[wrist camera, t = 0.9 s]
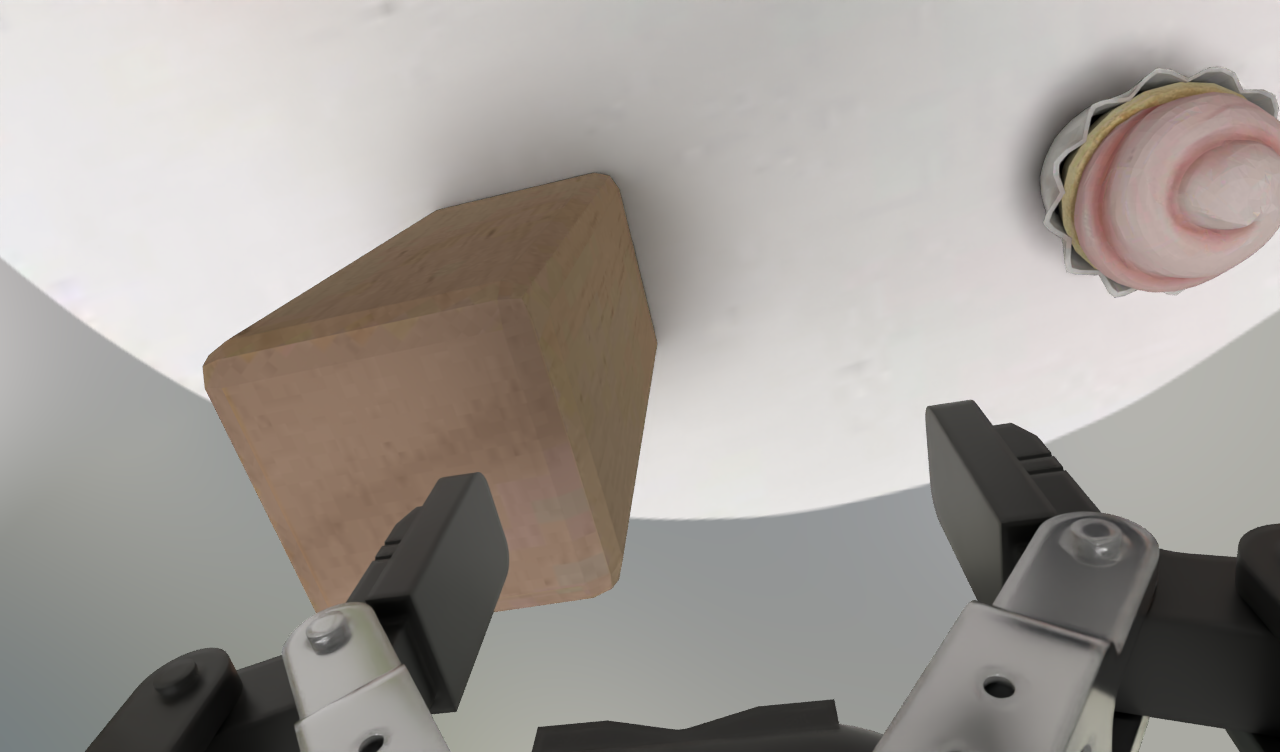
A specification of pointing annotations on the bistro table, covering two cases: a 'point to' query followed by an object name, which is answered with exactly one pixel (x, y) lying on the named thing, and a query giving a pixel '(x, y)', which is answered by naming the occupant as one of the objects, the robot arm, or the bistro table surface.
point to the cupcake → (1166, 182)
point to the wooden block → (456, 391)
